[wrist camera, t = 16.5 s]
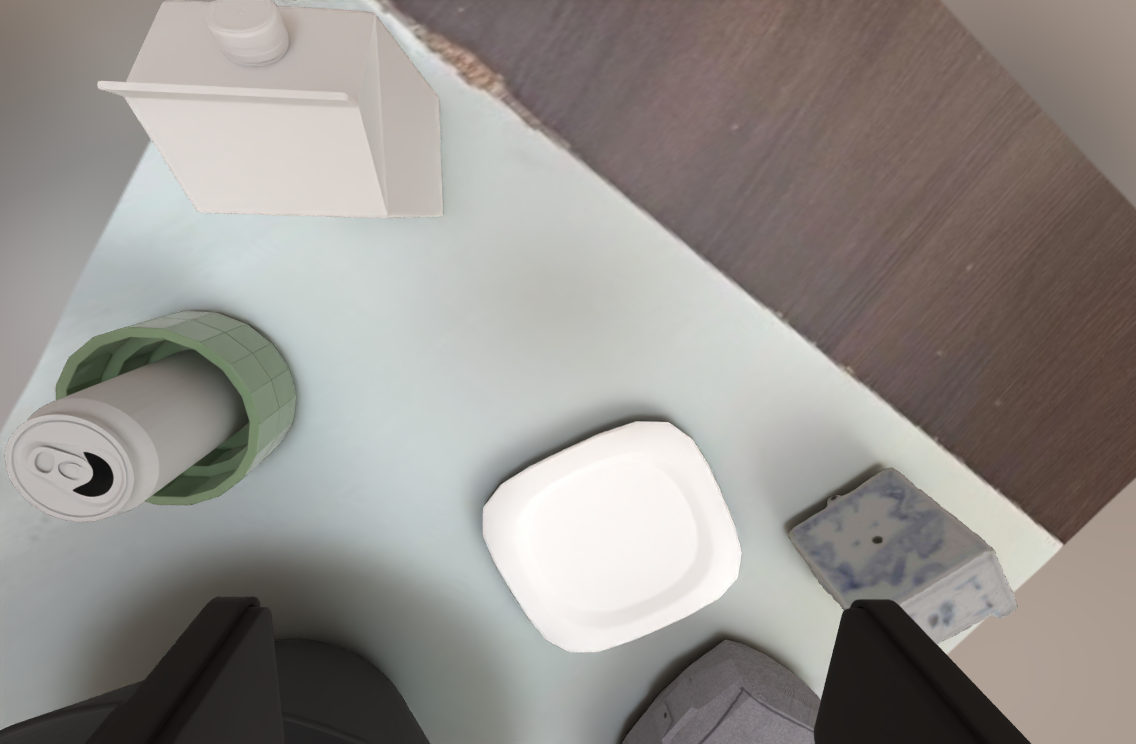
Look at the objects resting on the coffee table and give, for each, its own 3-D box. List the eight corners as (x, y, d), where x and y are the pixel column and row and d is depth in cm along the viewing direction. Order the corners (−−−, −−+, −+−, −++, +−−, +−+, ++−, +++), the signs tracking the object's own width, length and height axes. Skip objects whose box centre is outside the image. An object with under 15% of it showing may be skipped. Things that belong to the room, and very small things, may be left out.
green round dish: (114, 305, 35) (35, 322, 30) (294, 313, 36) (250, 332, 31) (141, 460, 39) (73, 503, 33) (305, 464, 40) (268, 507, 34)
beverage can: (244, 447, 38) (122, 548, 27) (150, 412, 37) (-20, 502, 26) (272, 369, 37) (157, 440, 25) (175, 330, 36) (8, 386, 24)
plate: (559, 658, 46) (560, 674, 45) (457, 490, 41) (454, 502, 39) (753, 572, 45) (762, 586, 44) (674, 389, 40) (680, 397, 38)
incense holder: (824, 590, 46) (905, 694, 36) (777, 524, 44) (850, 615, 34) (924, 528, 45) (1037, 617, 35) (882, 456, 43) (989, 530, 33)
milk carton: (443, 216, 35) (356, 219, 17) (332, 213, 35) (121, 212, 17) (440, 98, 33) (337, -42, 15) (322, 92, 33) (68, -60, 15)
